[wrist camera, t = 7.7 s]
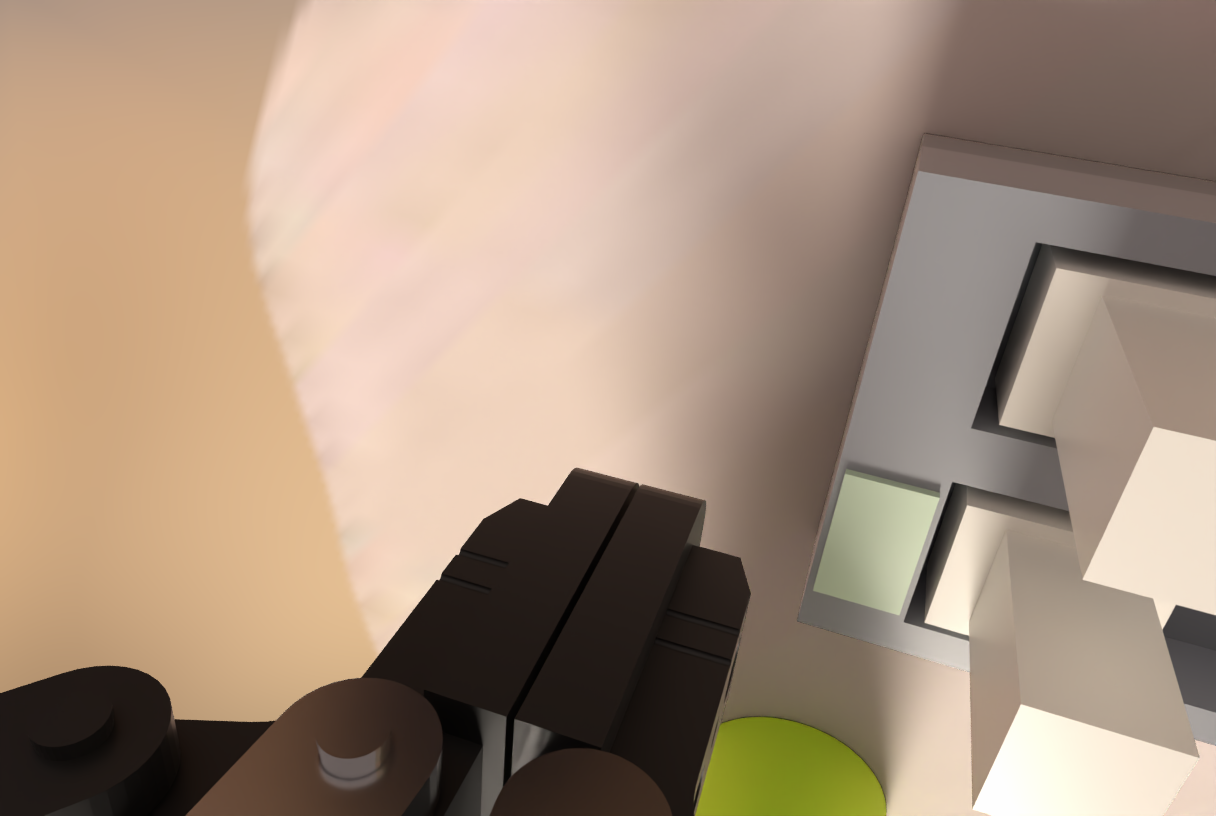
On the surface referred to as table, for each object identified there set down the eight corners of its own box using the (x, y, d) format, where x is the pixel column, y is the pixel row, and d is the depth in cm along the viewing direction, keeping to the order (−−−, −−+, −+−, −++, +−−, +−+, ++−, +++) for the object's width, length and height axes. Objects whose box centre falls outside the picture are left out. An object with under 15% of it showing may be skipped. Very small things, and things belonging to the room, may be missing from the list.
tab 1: (1292, 278, 16) (1477, 473, 10) (1217, 427, 17) (1341, 669, 12) (1045, 233, 16) (1092, 388, 11) (995, 378, 18) (1012, 579, 12)
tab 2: (1175, 504, 18) (1273, 762, 12) (1118, 617, 19) (1182, 893, 14) (966, 453, 19) (970, 672, 13) (926, 565, 20) (916, 803, 15)
